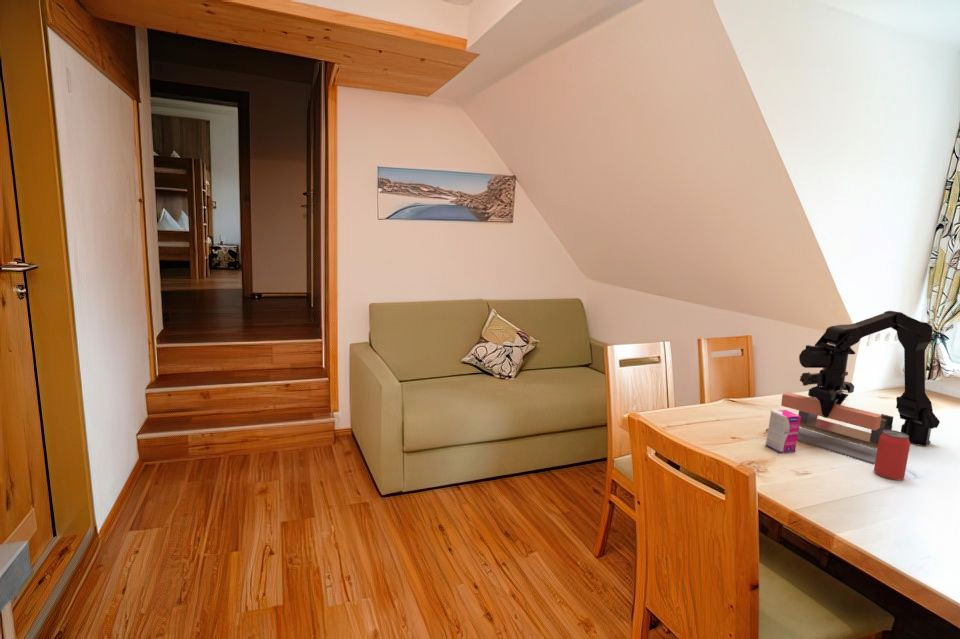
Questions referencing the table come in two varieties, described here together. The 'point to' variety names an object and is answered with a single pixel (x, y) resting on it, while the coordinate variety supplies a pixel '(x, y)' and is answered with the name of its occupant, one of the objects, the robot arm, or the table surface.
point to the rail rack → (845, 429)
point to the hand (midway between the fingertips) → (827, 416)
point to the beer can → (892, 454)
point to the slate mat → (837, 445)
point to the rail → (833, 411)
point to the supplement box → (783, 431)
